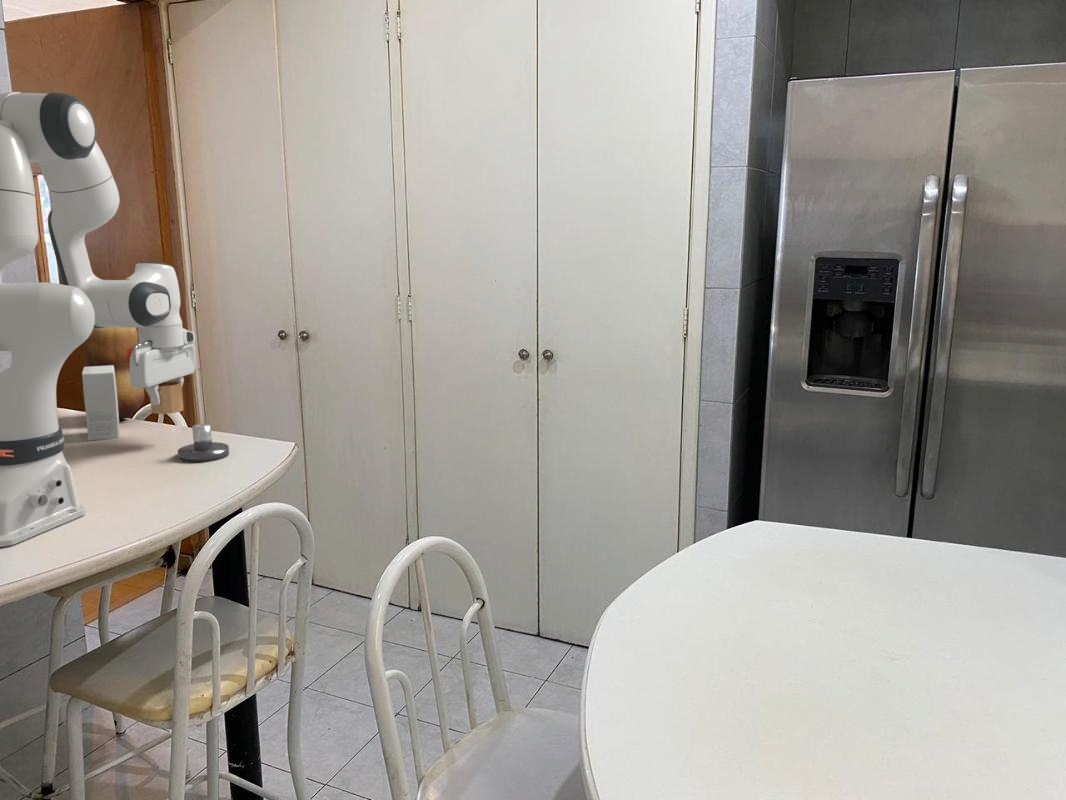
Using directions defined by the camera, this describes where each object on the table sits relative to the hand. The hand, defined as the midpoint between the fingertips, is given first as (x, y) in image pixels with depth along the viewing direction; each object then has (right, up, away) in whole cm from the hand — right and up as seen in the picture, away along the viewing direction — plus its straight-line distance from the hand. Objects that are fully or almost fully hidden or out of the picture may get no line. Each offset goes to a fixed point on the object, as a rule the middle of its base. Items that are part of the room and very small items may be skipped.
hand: (166, 400), depth 179 cm
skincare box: (-18, -8, +9) cm, 21 cm away
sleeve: (0, -2, 0) cm, 2 cm away
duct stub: (+11, -12, -6) cm, 17 cm away
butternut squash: (-22, -5, +23) cm, 32 cm away
